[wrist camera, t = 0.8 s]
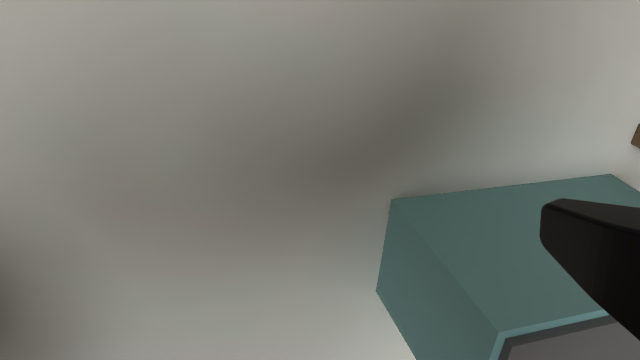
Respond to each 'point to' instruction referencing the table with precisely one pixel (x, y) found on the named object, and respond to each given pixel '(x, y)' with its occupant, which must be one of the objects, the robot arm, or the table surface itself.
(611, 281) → the robot arm
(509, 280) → the teal box
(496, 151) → the table surface
